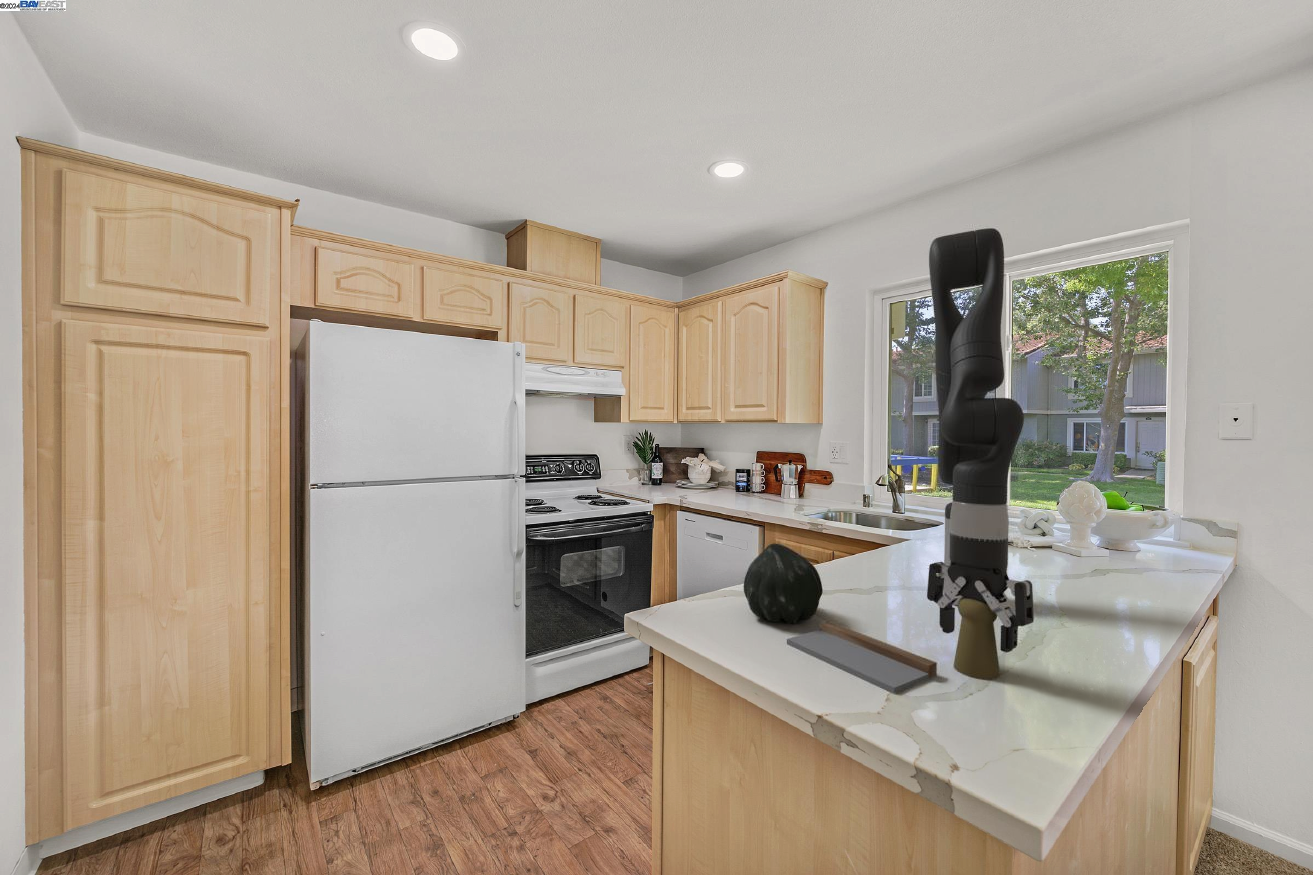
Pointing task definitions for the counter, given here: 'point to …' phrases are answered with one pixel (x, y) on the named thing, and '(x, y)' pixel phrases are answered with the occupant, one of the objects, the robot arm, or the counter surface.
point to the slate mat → (859, 661)
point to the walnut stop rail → (881, 648)
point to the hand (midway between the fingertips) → (976, 640)
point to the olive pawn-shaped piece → (977, 641)
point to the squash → (782, 585)
